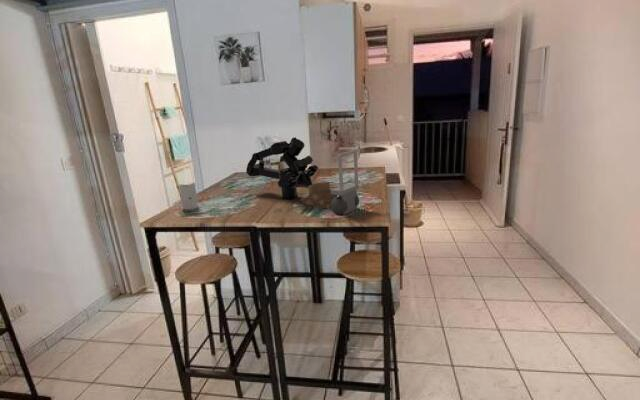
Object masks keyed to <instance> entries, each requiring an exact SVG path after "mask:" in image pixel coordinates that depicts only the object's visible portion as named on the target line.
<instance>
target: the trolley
mask: <svg viewBox="0 0 640 400" xmlns="http://www.w3.org/2000/svg"><path fill="white" fill-rule="evenodd" d="M350 155H353V169H354V171H353V172H354V173H353V175H354V183H353V184H352V183H345V184H344V178H343V177H344V175H343V159H342V158H343V157H346V156H350ZM337 162H338V163H337V164H338V179H339V180H338V181H339V183H338V185H339V186H338V187H335V188H332V189H330V190H331V194H336V195H337V197H336V198H333V199H332V201H331V208H330V209H331V211H332V212H333V214H336V215H342V214H343V216H345V214H346V215H347V213H348V214H349V212H350V213H352V212H354V211H356V210H357V209H358V206H359V204H360V198H359V195H358V194H357V190H358V189H359V168H358V167H359V166H358V165H359V164H358V151H357V149H352V150H349V151H346V152H341V153H338V155H337ZM353 210H354V211H353ZM351 211H352V212H351Z"/></svg>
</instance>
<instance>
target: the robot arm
mask: <svg viewBox="0 0 640 400" xmlns="http://www.w3.org/2000/svg"><path fill="white" fill-rule="evenodd" d="M305 146H306V145H305V142H303V141H302V140H300V139H298V138H297V137H296V136H295V137H292V138H291V139H290V141H289V143H288V142H287V141H286V140H282V141H277V142H274V143H273V144H271V145H270V146H269V147H268V148H265V149H263V150H261V151H258V152H254V153H252V156H251V158H250V160H248V161H249V162H248V163H247V165H246V174H247V175H248V177H251V178H252V177H260V176H261V177H264V178H270V179H275V180H278V181H277V185H278V187H279V188H281V197H280V200H281V199H283V200H293V199H295V198H297V197H298V196H299V195H298V190H297V188H298V187H296V186H295V184H298V183H300V184H302V185H303V186H305V187H307V188H308V186H310V185H313V182H312V178H311V177H313V176H314V175H315V174H316V172H317V171H318V170H319V167H318V166H317V165H316V164H313V161H314V159H313V157H312V156H311V155H307V156H305V157H303V158H301V159H299V158H298V156H299V155H300V154H301V152H302V151H303V149H304V148H305ZM278 155H280V158H279V162H280V163H283V162H284V164H286V166H287V167H286V168H285V167H284V168H281V169H274V168H269V167H265V162H264V159H266V158H268V157H272V156H278ZM257 162H258V163H257ZM312 164H313V165H312Z"/></svg>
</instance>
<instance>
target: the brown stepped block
mask: <svg viewBox="0 0 640 400" xmlns="http://www.w3.org/2000/svg"><path fill="white" fill-rule="evenodd" d="M307 188H308V196H304V197H302V198H300V199H301V204H302V205H308V206H311V205H312V206H313V207H317V208H324V209H327V210H328V209H329V210H330V209H331V201H332V199H333V198H336V197H338V195H336V194H331V190H332V189H331V188H330V181H325V180H322V181H321V180H320V181H319V182H316V183H312V185H310V186H308V187H307Z"/></svg>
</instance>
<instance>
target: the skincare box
mask: <svg viewBox="0 0 640 400" xmlns="http://www.w3.org/2000/svg"><path fill="white" fill-rule="evenodd" d="M178 186H179V192H180V199H181V204H182V205H181V207H182V209H183V210H191V209H192V210H195V209H197V208H199V203H198V196H197V194H198V193H197V189H196V182H190V181H188V182H187V181H186V182H185V181H184V182H182V183H180V184H178ZM194 208H195V209H194Z"/></svg>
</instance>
